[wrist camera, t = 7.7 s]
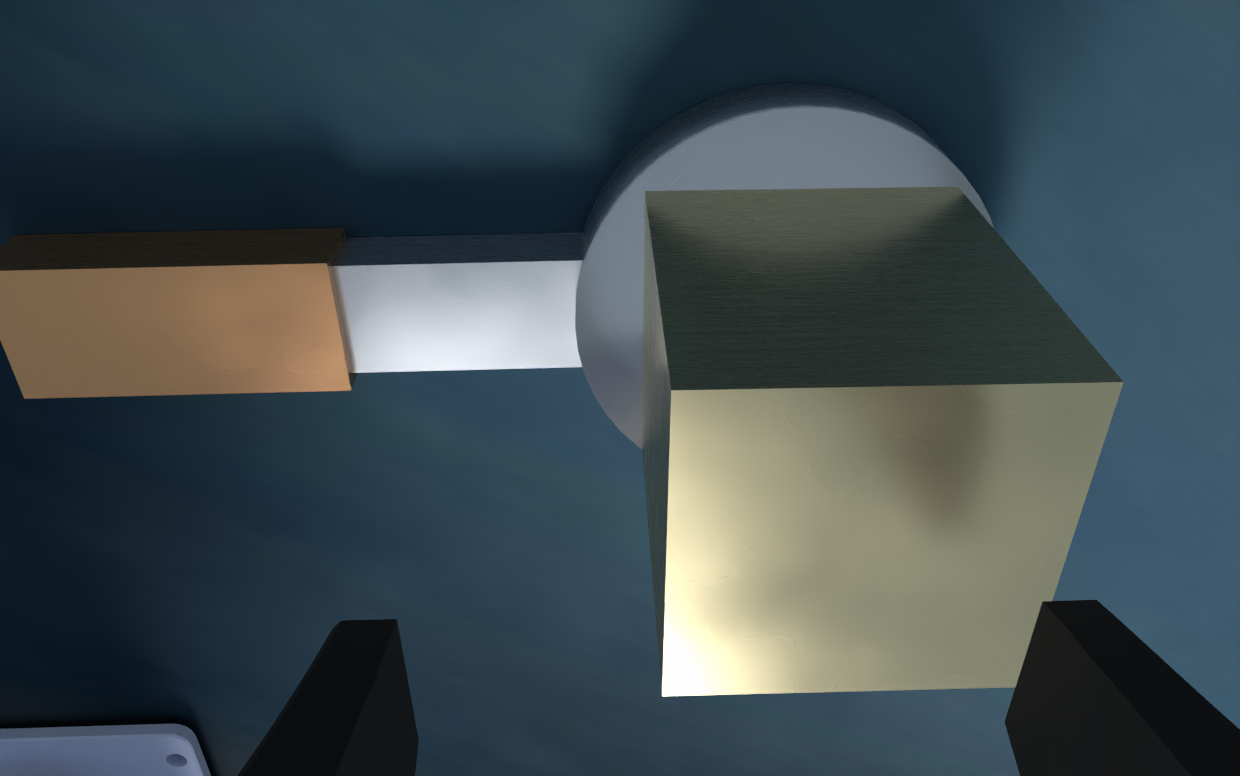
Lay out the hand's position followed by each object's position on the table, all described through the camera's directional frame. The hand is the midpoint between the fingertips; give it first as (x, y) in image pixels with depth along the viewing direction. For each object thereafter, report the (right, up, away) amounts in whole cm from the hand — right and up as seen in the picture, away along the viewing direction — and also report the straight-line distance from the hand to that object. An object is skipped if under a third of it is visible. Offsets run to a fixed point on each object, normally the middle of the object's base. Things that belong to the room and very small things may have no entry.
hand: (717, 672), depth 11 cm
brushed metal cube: (+2, +4, +6) cm, 8 cm away
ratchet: (-3, +5, +8) cm, 10 cm away
